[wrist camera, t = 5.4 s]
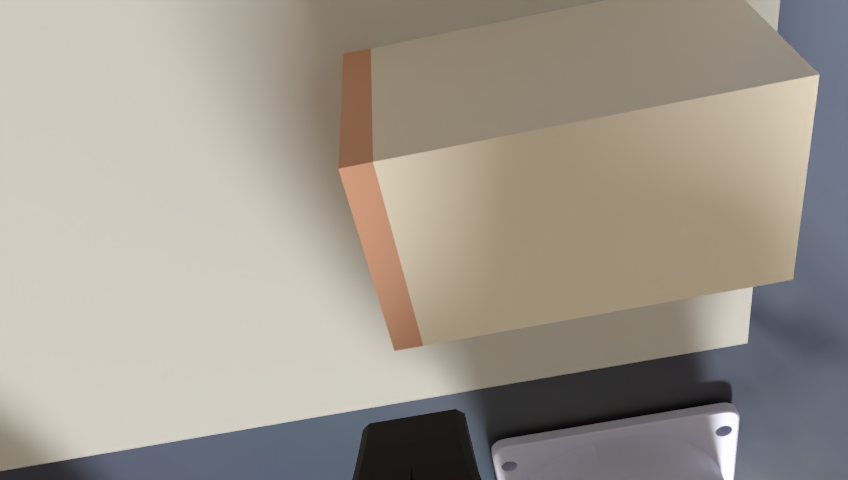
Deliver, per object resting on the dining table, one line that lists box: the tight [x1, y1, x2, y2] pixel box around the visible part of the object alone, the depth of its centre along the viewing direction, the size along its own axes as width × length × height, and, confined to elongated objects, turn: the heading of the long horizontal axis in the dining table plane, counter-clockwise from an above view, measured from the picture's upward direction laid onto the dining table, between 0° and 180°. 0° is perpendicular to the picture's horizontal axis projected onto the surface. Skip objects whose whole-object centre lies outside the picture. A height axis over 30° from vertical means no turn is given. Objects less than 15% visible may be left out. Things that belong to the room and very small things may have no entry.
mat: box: [0, 0, 780, 471], centre depth 19 cm, size 18×24×1 cm
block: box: [338, 0, 820, 351], centre depth 16 cm, size 4×4×8 cm
